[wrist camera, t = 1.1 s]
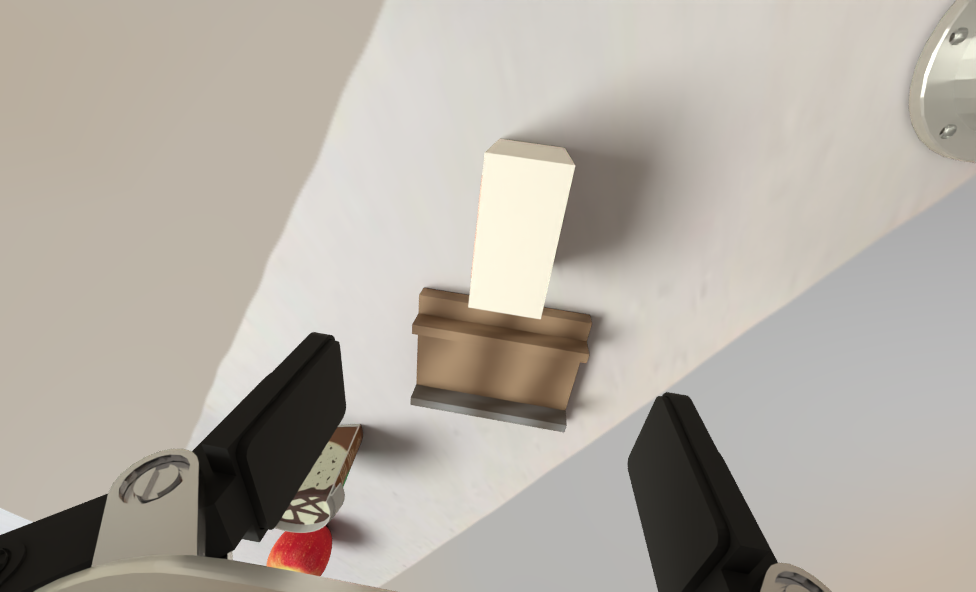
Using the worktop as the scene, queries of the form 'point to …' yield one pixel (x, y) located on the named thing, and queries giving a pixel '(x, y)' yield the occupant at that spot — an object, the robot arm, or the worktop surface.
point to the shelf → (497, 360)
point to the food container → (324, 483)
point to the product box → (518, 226)
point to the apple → (302, 552)
